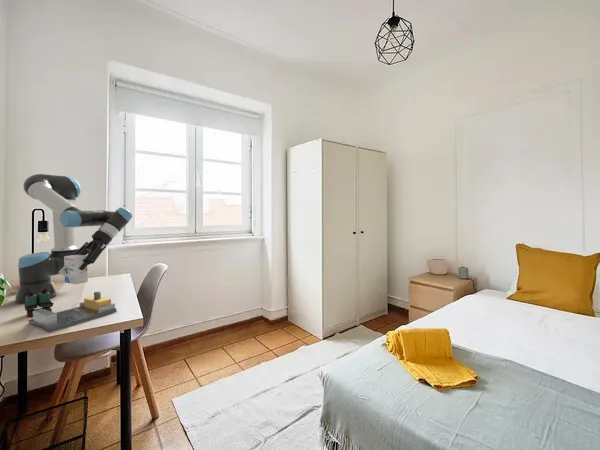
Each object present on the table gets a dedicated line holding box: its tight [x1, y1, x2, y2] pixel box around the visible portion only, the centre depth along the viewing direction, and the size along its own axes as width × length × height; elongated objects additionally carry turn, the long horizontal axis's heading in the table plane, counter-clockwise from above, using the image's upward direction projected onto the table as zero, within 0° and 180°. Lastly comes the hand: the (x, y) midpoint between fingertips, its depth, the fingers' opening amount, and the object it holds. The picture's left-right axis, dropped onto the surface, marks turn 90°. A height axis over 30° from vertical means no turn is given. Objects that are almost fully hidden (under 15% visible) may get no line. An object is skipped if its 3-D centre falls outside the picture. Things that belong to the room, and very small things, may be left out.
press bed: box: [27, 301, 117, 333], centre depth 116 cm, size 18×24×6 cm
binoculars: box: [24, 288, 55, 318], centre depth 120 cm, size 9×11×10 cm
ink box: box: [64, 255, 89, 285], centre depth 121 cm, size 9×5×12 cm, turn 67°
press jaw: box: [83, 290, 112, 310], centre depth 123 cm, size 12×5×7 cm, turn 63°
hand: (67, 275), depth 118 cm, fingers closed on ink box, 9 cm apart
